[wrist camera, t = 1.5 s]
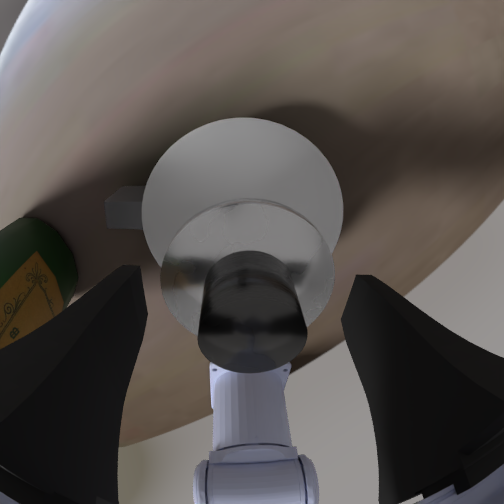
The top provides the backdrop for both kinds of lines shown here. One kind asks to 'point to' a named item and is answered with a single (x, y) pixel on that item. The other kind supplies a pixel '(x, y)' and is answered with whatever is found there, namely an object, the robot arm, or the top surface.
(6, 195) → the top surface
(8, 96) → the top surface
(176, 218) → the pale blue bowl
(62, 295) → the bottle
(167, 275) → the knobbed lid
